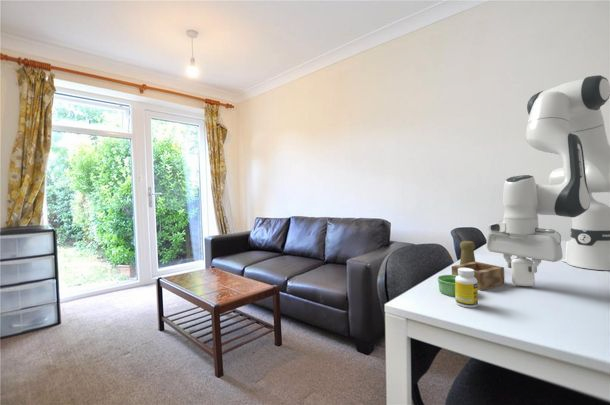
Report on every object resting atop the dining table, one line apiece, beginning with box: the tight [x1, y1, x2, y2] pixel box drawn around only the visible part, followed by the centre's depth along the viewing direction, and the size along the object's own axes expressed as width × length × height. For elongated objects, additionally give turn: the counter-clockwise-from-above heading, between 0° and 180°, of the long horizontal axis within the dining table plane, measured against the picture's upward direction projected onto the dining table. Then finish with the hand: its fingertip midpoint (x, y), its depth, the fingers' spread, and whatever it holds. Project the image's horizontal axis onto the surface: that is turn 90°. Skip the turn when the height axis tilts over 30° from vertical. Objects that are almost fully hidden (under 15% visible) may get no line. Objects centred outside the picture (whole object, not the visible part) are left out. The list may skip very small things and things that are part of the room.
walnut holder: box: [451, 261, 505, 292], centre depth 96 cm, size 12×10×6 cm
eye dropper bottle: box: [510, 256, 536, 287], centre depth 91 cm, size 4×6×12 cm
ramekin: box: [436, 274, 458, 298], centre depth 88 cm, size 9×9×4 cm
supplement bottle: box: [454, 268, 479, 309], centre depth 79 cm, size 5×5×10 cm
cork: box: [459, 240, 476, 265], centre depth 113 cm, size 6×6×11 cm
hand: (521, 270), depth 91 cm, fingers closed on eye dropper bottle, 5 cm apart
